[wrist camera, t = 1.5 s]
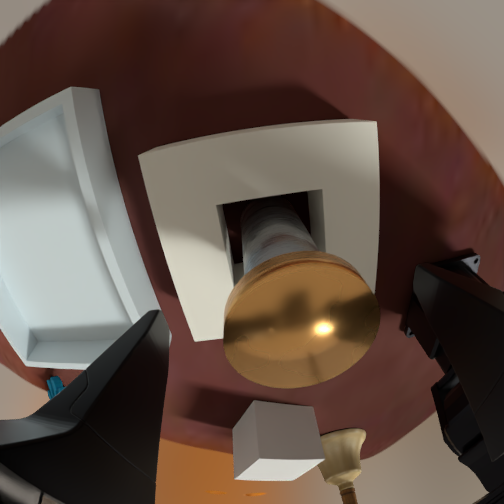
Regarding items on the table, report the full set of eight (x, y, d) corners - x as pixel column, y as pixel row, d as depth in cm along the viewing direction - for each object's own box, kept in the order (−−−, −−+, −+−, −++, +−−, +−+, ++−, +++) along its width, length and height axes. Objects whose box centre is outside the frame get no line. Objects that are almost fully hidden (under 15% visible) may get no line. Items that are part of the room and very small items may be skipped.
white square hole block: (350, 118, 13) (376, 121, 10) (354, 282, 18) (372, 310, 15) (156, 147, 13) (138, 155, 11) (199, 308, 18) (194, 341, 15)
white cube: (253, 399, 23) (259, 458, 18) (312, 405, 24) (325, 458, 19) (232, 428, 25) (234, 479, 20) (285, 433, 27) (292, 480, 21)
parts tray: (99, 89, 12) (70, 86, 9) (171, 335, 19) (165, 367, 16) (-35, 165, 12) (-62, 176, 9) (40, 342, 19) (26, 365, 16)
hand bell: (378, 425, 28) (413, 531, 14) (343, 454, 32) (366, 546, 17) (322, 428, 27) (350, 554, 12) (291, 456, 30) (307, 561, 16)
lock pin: (304, 175, 14) (388, 255, 6) (310, 250, 16) (370, 370, 8) (220, 188, 15) (205, 287, 7) (235, 262, 17) (239, 396, 9)
